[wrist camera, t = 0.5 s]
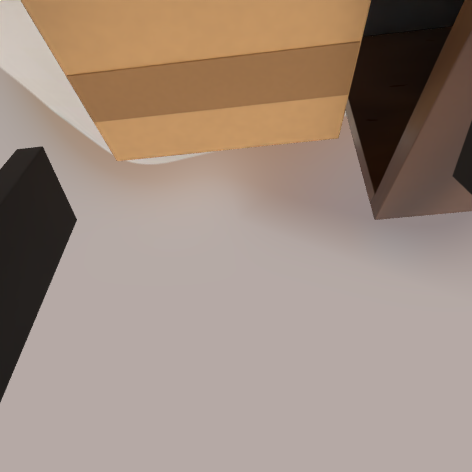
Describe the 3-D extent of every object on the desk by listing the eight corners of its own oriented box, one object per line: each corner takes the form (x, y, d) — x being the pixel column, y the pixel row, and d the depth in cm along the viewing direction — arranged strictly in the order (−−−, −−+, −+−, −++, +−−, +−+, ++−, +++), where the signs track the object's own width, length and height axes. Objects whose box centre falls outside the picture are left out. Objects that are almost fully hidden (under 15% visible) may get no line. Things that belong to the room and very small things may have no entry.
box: (131, 40, 28) (116, 162, 23) (67, -131, 20) (18, 1, 14) (309, 19, 28) (339, 140, 22) (327, -170, 19) (383, -46, 13)
